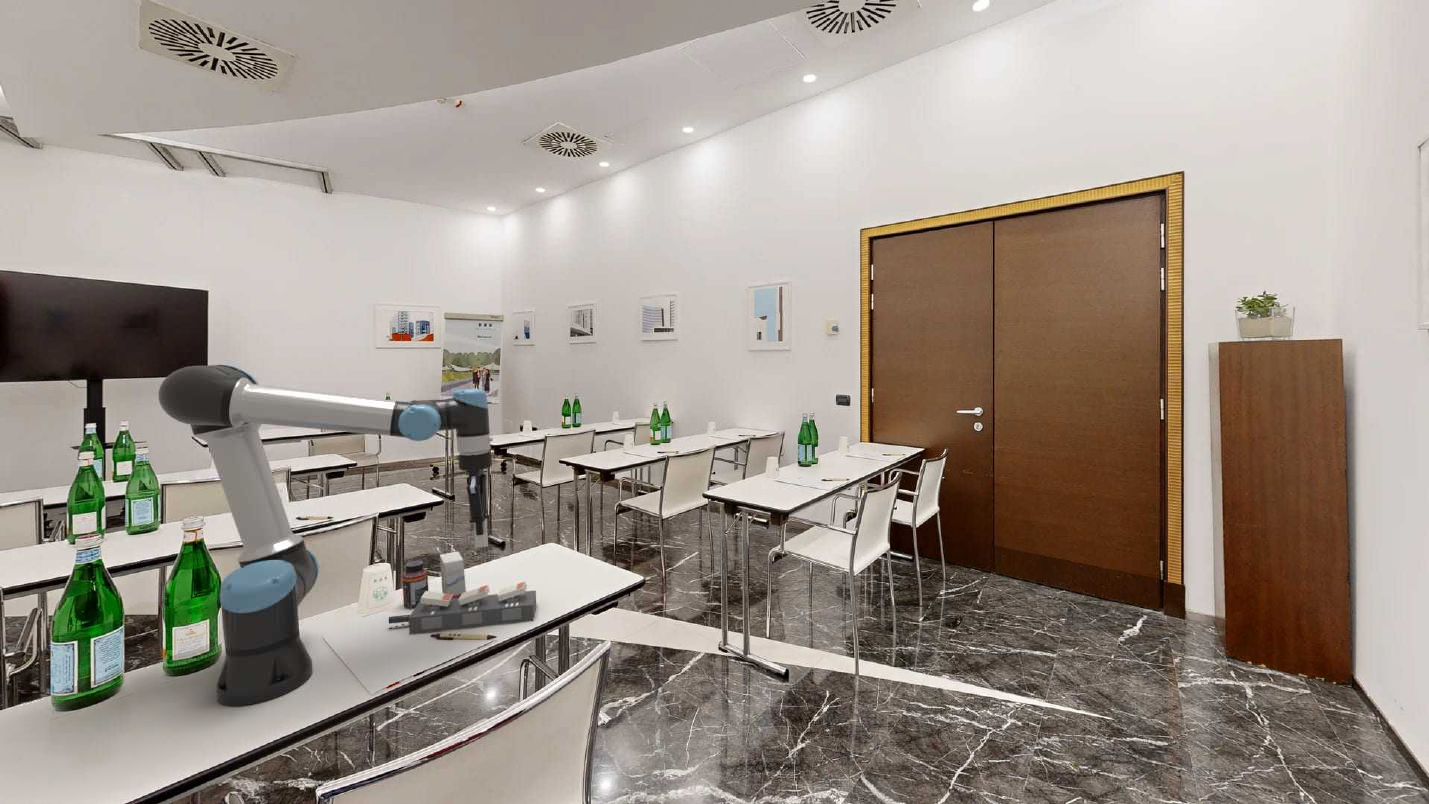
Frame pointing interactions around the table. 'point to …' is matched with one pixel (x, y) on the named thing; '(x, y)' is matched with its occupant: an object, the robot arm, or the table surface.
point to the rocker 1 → (436, 598)
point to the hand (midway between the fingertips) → (481, 546)
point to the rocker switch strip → (470, 613)
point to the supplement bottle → (414, 583)
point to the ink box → (452, 574)
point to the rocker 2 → (474, 595)
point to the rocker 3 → (512, 591)
